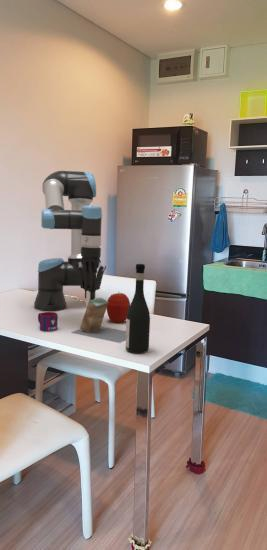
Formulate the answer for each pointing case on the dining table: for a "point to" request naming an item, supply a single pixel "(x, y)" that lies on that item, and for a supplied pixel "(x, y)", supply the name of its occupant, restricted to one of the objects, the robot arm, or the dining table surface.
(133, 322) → the wine bottle
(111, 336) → the mat
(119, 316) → the apple
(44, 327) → the mug
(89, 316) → the block
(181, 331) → the dining table surface
